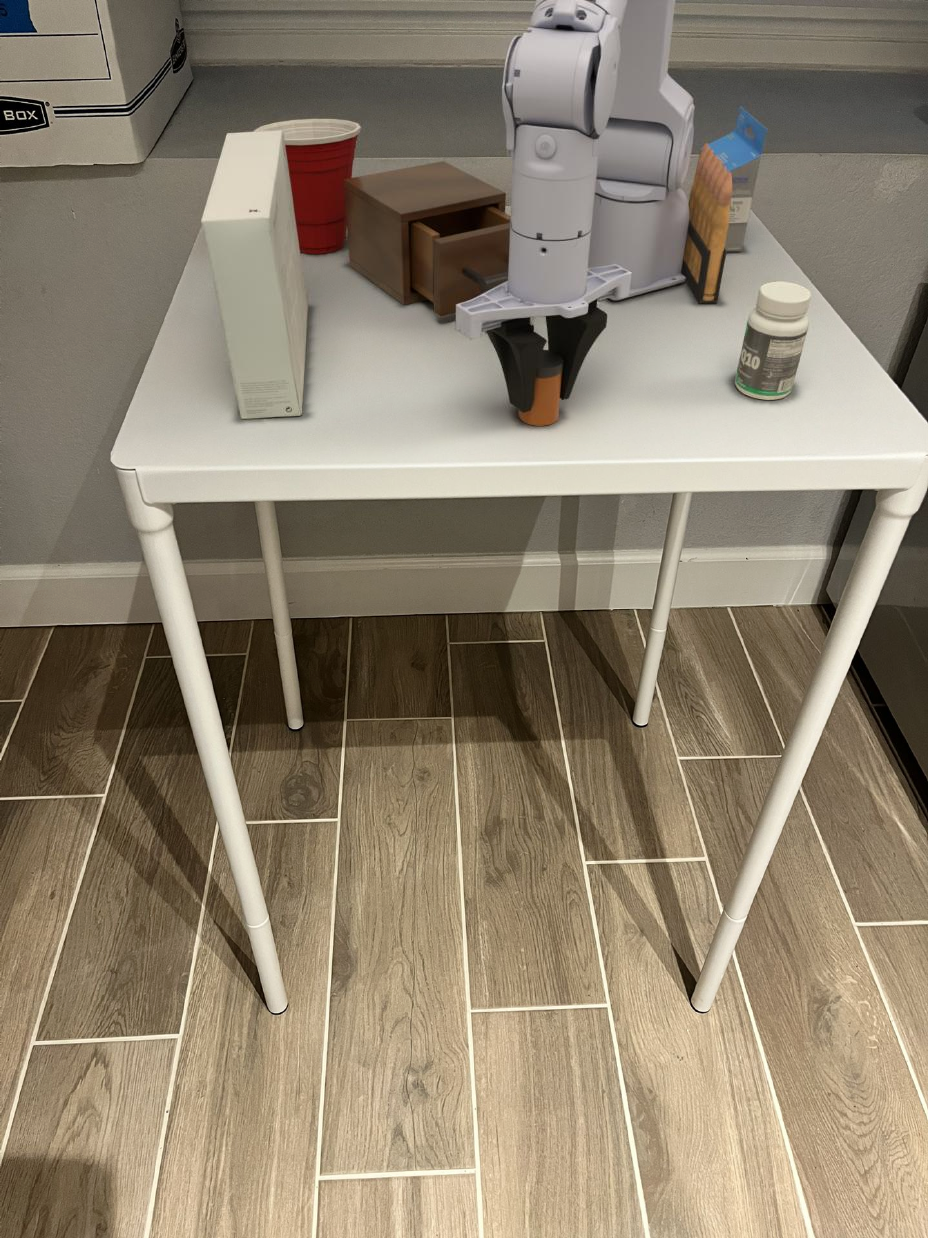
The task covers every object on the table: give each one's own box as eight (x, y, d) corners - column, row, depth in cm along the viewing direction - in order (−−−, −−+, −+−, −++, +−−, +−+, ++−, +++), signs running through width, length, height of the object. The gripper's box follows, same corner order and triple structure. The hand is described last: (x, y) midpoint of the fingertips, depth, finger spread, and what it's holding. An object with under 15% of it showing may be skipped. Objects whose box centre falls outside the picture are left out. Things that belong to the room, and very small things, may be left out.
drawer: (558, 309, 91) (564, 236, 86) (465, 334, 87) (465, 259, 82) (474, 258, 100) (475, 189, 96) (386, 278, 96) (382, 208, 91)
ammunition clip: (717, 303, 94) (742, 174, 86) (698, 304, 94) (721, 174, 86) (693, 261, 102) (713, 139, 94) (676, 261, 102) (695, 139, 94)
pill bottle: (729, 373, 83) (749, 278, 78) (784, 375, 83) (808, 279, 78) (739, 401, 80) (761, 302, 74) (797, 402, 80) (823, 303, 74)
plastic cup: (349, 220, 110) (341, 105, 103) (381, 253, 103) (375, 132, 95) (256, 234, 107) (240, 116, 99) (283, 268, 100) (268, 144, 92)
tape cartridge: (686, 224, 110) (705, 105, 102) (719, 223, 111) (740, 105, 103) (709, 253, 104) (731, 129, 96) (744, 252, 104) (769, 128, 96)
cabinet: (503, 280, 98) (506, 192, 92) (403, 305, 93) (400, 213, 88) (444, 244, 105) (443, 160, 100) (349, 265, 101) (343, 178, 95)
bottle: (543, 402, 79) (547, 345, 76) (567, 419, 77) (572, 361, 74) (510, 412, 78) (512, 355, 75) (533, 430, 76) (537, 372, 73)
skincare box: (251, 309, 92) (225, 129, 82) (308, 307, 93) (290, 128, 82) (233, 421, 77) (198, 216, 66) (302, 418, 77) (278, 214, 66)
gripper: (496, 265, 62) (490, 448, 71) (667, 224, 68) (642, 398, 77) (439, 231, 67) (441, 407, 76) (605, 196, 72) (588, 363, 81)
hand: (539, 400), depth 77 cm, fingers closed on bottle, 3 cm apart
